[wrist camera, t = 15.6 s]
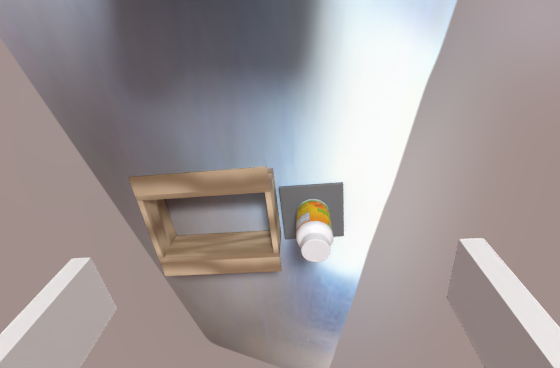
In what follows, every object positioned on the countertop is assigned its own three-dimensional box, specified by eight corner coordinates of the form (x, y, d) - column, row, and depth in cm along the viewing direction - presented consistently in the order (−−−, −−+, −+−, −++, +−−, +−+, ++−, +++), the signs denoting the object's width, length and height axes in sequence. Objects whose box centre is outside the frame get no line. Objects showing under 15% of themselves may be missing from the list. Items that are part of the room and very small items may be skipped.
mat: (279, 186, 49) (279, 188, 49) (342, 182, 48) (343, 184, 48) (285, 236, 54) (285, 238, 53) (343, 233, 53) (343, 235, 52)
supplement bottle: (335, 213, 50) (343, 252, 42) (310, 230, 52) (313, 272, 44) (314, 191, 48) (318, 228, 40) (289, 210, 50) (287, 249, 42)
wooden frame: (146, 160, 48) (128, 177, 43) (270, 150, 46) (267, 167, 41) (177, 252, 57) (165, 276, 51) (282, 246, 55) (281, 271, 50)
